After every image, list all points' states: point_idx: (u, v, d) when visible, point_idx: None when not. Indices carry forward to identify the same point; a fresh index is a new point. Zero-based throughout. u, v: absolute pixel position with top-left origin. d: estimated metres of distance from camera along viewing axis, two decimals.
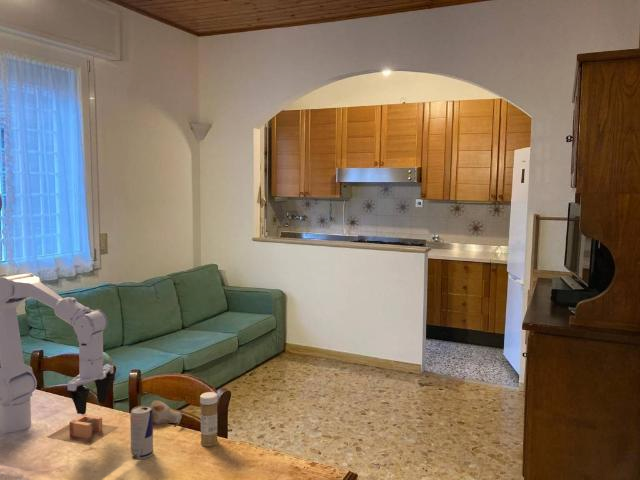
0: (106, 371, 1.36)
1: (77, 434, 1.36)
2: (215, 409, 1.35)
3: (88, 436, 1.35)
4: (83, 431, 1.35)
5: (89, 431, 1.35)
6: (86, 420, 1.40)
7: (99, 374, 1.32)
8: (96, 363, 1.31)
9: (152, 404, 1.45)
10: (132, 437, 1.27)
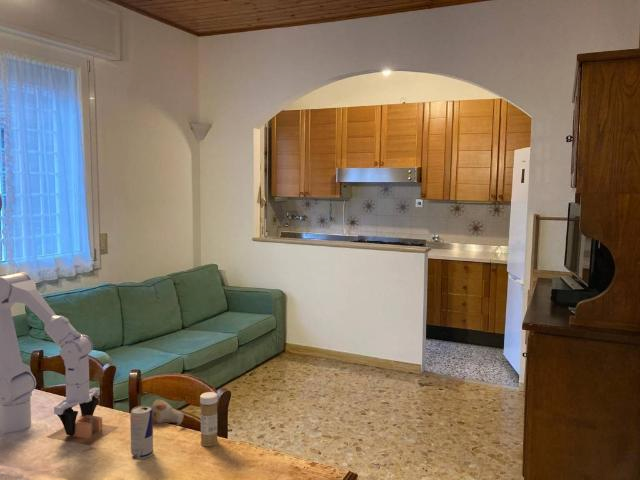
0: (92, 394, 1.40)
1: (77, 434, 1.36)
2: (215, 409, 1.35)
3: (88, 436, 1.35)
4: (83, 431, 1.35)
5: (89, 431, 1.35)
6: (86, 420, 1.40)
7: (85, 397, 1.37)
8: (82, 387, 1.36)
9: (154, 403, 1.46)
10: (132, 437, 1.27)
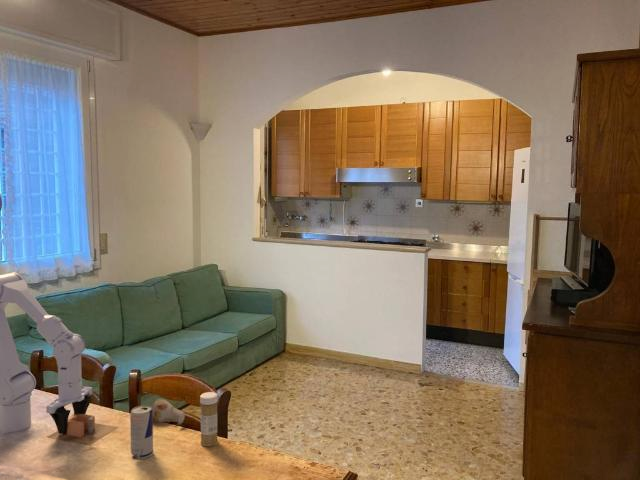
0: (85, 393, 1.41)
1: (70, 433, 1.36)
2: (215, 409, 1.35)
3: (80, 435, 1.36)
4: (75, 429, 1.36)
5: (81, 430, 1.36)
6: (79, 419, 1.40)
7: (77, 396, 1.38)
8: (74, 386, 1.37)
9: (156, 402, 1.46)
10: (132, 437, 1.27)
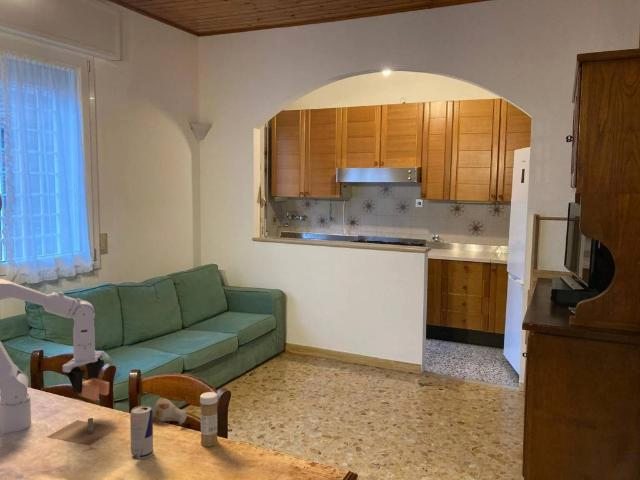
0: (98, 355, 1.50)
1: (85, 395, 1.45)
2: (215, 409, 1.35)
3: (95, 398, 1.44)
4: (91, 393, 1.44)
5: (96, 394, 1.45)
6: (95, 383, 1.49)
7: (91, 358, 1.47)
8: (88, 348, 1.46)
9: (158, 402, 1.47)
10: (132, 437, 1.27)
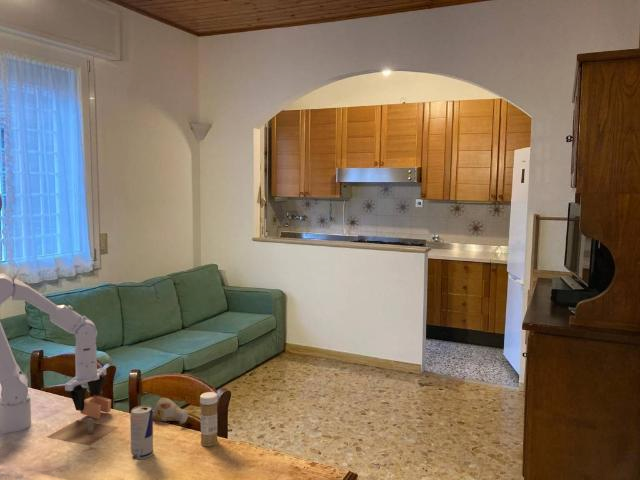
0: (99, 373, 1.52)
1: (87, 413, 1.47)
2: (215, 409, 1.35)
3: (97, 416, 1.46)
4: (93, 411, 1.46)
5: (98, 412, 1.46)
6: (96, 401, 1.50)
7: (93, 376, 1.48)
8: (90, 366, 1.47)
9: (159, 401, 1.47)
10: (132, 437, 1.27)
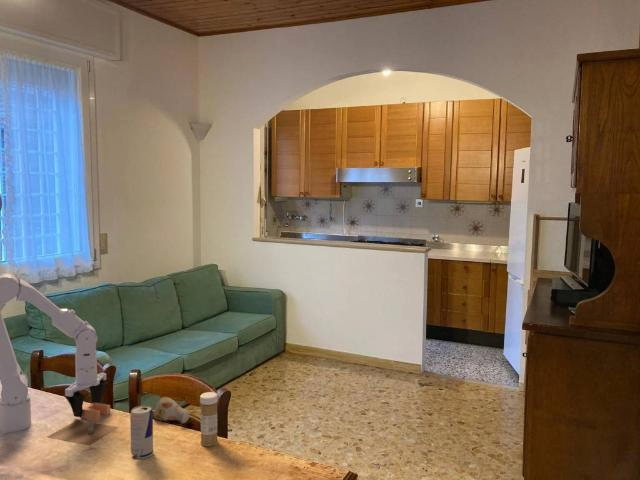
0: (100, 378, 1.52)
1: None
2: (215, 409, 1.35)
3: None
4: (92, 417, 1.46)
5: (98, 417, 1.46)
6: (95, 407, 1.51)
7: (93, 381, 1.48)
8: (90, 371, 1.47)
9: (161, 400, 1.47)
10: (132, 437, 1.27)
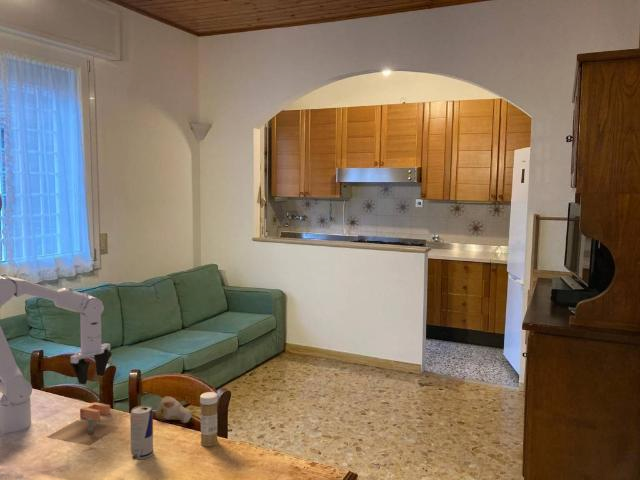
0: (104, 348, 1.57)
1: None
2: (215, 409, 1.35)
3: None
4: (92, 417, 1.46)
5: (98, 417, 1.46)
6: (95, 407, 1.51)
7: (98, 350, 1.53)
8: (95, 340, 1.52)
9: (163, 400, 1.48)
10: (132, 437, 1.27)
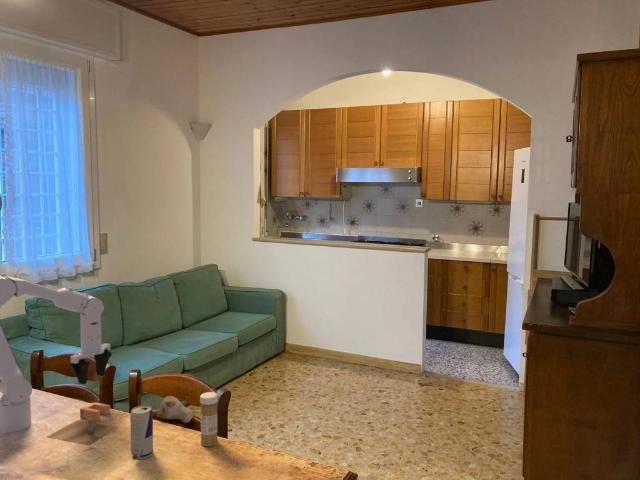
0: (104, 348, 1.57)
1: None
2: (215, 409, 1.35)
3: None
4: (92, 417, 1.46)
5: (98, 417, 1.46)
6: (95, 407, 1.51)
7: (98, 350, 1.53)
8: (95, 340, 1.52)
9: (164, 399, 1.48)
10: (132, 437, 1.27)
